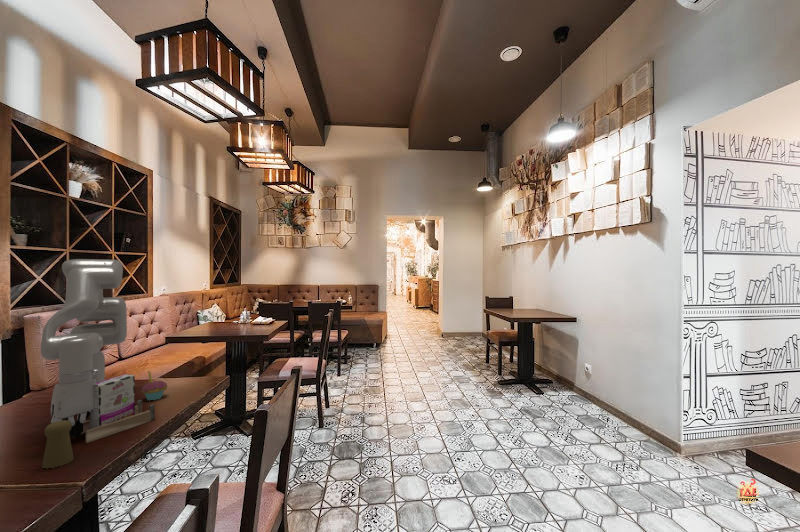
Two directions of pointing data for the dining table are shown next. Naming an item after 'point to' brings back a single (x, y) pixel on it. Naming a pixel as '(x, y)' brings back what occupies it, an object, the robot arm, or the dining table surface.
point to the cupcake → (154, 389)
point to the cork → (58, 444)
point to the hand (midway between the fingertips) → (75, 436)
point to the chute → (119, 423)
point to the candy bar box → (113, 400)
